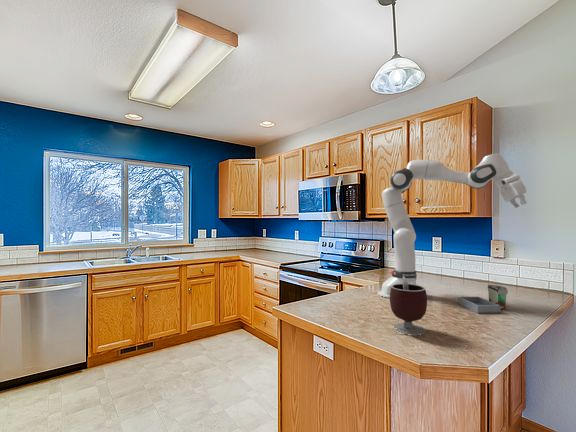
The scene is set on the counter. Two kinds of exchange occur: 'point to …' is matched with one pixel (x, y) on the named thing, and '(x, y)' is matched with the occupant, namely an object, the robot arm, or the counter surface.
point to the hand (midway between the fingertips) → (520, 205)
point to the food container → (497, 295)
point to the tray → (479, 305)
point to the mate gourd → (408, 306)
